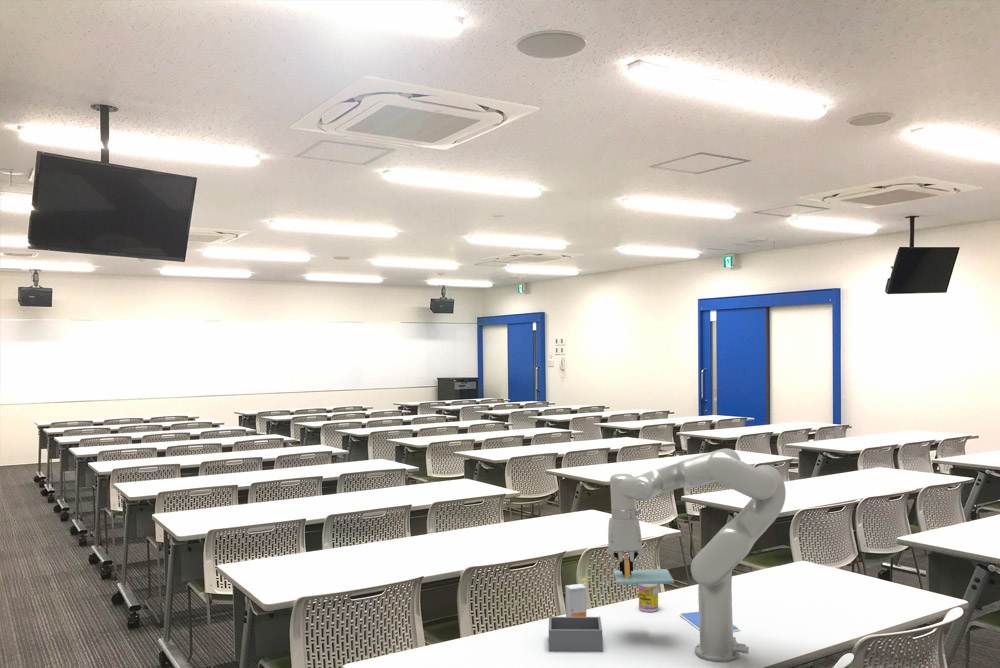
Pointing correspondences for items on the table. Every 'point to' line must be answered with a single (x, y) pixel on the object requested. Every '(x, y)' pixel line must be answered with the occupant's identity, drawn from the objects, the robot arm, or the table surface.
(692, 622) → the tablet computer
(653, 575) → the lid
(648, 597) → the supplement bottle
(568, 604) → the skincare box
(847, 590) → the table surface
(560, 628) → the tub
